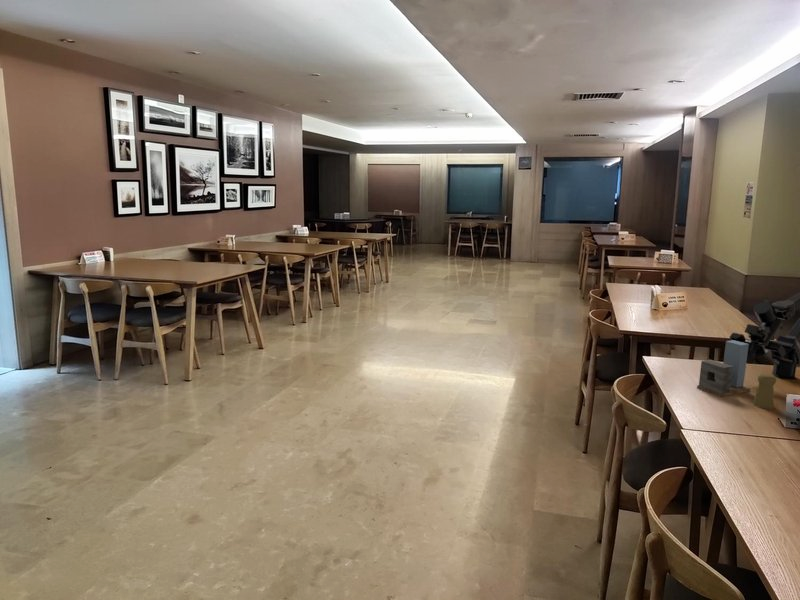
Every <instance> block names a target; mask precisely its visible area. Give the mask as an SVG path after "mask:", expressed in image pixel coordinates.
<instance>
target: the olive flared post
mask: <svg viewBox="0 0 800 600" xmlns="http://www.w3.org/2000/svg"><path fill="white" fill-rule="evenodd" d="M757 382H758V385H757V389H756V393H755V396H754V400H753V402H752V404H753V406H754V407H758V408H762V409H767V410H768V409H774V408H775V406H774V405H775V403H774V402H775V397H774V395H775V394H774V385H775V384H776V382H777V377H776V375H774V374H772V373H770V374H769V373H760V374H759V375H758V377H757Z"/></svg>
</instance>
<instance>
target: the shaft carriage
mask: <svg viewBox="0 0 800 600" xmlns="http://www.w3.org/2000/svg"><path fill="white" fill-rule="evenodd" d="M748 346H749V344H747V343H743V342H739V341H735V340H731V339H730V340H725V347H724V354H723V355H724V356H723V362H722V363H723V364H727V365H730V366H733V370H732V378H731V385H730V386H733V387H736V388H737V387H741V386H744V382H745V377H746V376H745V375H746V369H747V363H746V361H747V354H748ZM714 376H715V378H716V373H715V374H714Z"/></svg>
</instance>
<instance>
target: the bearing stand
mask: <svg viewBox="0 0 800 600" xmlns="http://www.w3.org/2000/svg"><path fill="white" fill-rule="evenodd" d="M699 370H700V372H699V379H698V380H699V381H698V385H696V389H698V390H700V391H701V390H702V391H705V392H707V393H710V394H713V395H715V396H718V397H721V398H724V397H729V396H733V395H737V394H741V393H745V392H750V391H751V387H747V386H745V385H743V386H741V387H737V388H736V387H733V386H730V385H731V378H732V370H733V366H730V365H727V364H723V362H720V361H716V360H713V359H705V360H701V361H700V369H699ZM715 373H716V377H715V376H714V374H715Z"/></svg>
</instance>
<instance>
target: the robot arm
mask: <svg viewBox="0 0 800 600" xmlns="http://www.w3.org/2000/svg"><path fill="white" fill-rule="evenodd" d="M798 309H800V291H799V292H797V293H796V294H794V295H792V296H790V297H788V298H787V299H785V300H777V301H774V302H773V303H772V302H771V300H768V299H765V300H764V301H763V302H762V301H761V302H758V303H757V304H755V305H754V306H753V310H752V311H753V312H754V314H755V316H756V317H757V319H758V321H759V322H760V325H754V324H747V325H746V327H745V329H744V333H746V334H747V337H745V335H744V334H741V333H739V332H732V333H731V335H730V336H729V339H730V341H731V340H735V341H739V342H743V343H747V344H749V346H748V354H747V361H746V364H747V363H750V362H751V361H753V360H755V359H757V358H760V357H762V356H767V352H769V351H771V352H770V353H771V359H772V360H775V363H773V369H772V371H771V374H772V375H773V376H775V377H776V378H779V379H790V380H791V379H793V380H798V379H797V378H798V377H797V376H796V372H797V371H796V370H797V366H799V365H800V317H799V318H798V319H797V320H796V322H795V323H794V324H793V327H792V328H791V329H790V331H789V332H788V334H786V336H785V335H784V336H782V335H779V336H777V339H776V340H775V335H776V334H777V332H778V331H779V330H783V329H784V325H783V322H782V321H781V320H784V321H789V320H790V319H792V318H793V317H794V316H795V314H796V311H797V310H798ZM774 340H775V341H774Z"/></svg>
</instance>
